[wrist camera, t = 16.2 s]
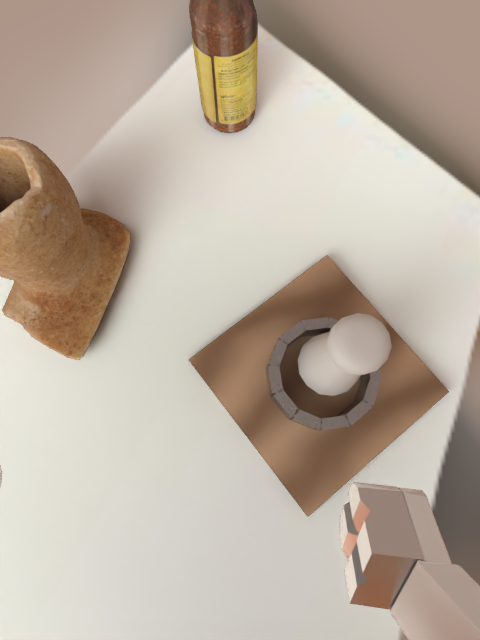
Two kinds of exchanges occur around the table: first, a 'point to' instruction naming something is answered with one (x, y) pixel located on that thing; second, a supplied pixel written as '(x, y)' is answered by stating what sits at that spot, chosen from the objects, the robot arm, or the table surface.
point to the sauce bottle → (226, 60)
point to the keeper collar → (285, 404)
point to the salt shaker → (344, 354)
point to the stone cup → (54, 251)
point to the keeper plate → (292, 438)
